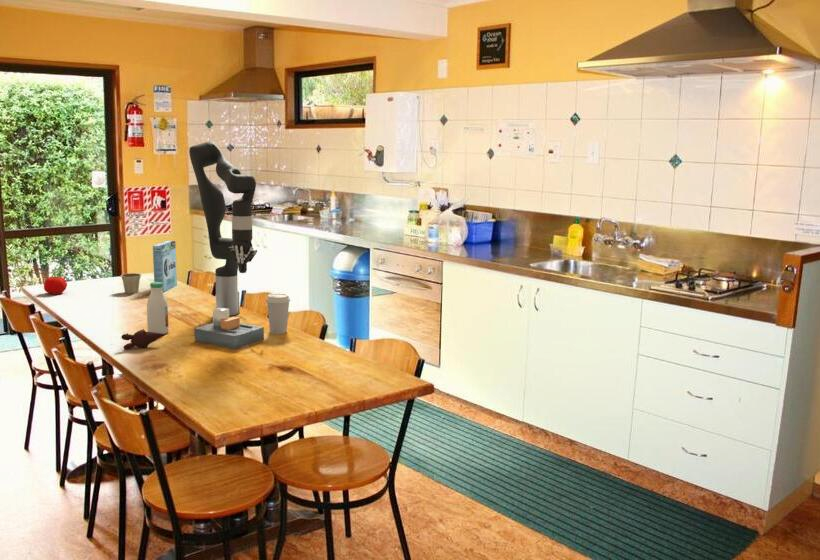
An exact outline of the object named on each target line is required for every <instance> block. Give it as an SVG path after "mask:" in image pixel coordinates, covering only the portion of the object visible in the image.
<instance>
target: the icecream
mask: <svg viewBox="0 0 820 560" xmlns="http://www.w3.org/2000/svg"><path fill="white" fill-rule="evenodd" d="M165 336H166V334H161V333H153V332H148V331H146V330H145V329H144V328H143V329H139V330H137V331H136V332H134V333H133V334H129V333H123V334H122V335H121V336H120V338H121V339H122V340H123V341H130V342H129V343H126V344H125V345H123V350H125V351H126V350H128V349H129V350H131V349H134V348H135V347H137V348H139V349H142V348H143V349H145V348H148V347H149V345H150V344H152V343H154V342H155V341H157V340H159V339H161V338H163V337H165Z"/></svg>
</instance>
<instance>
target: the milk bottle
mask: <svg viewBox="0 0 820 560" xmlns="http://www.w3.org/2000/svg"><path fill="white" fill-rule="evenodd" d="M149 286H150V294H149V295H148V299H147V303H146V320H147V332H153V333H161V334H165V335H167V334H168V333H169V307H168V299H167V298H166V296H165V294H164V292H163V291H162V288H163V283H162V282H154V281H152V282H150V283H149Z"/></svg>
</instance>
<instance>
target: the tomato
mask: <svg viewBox="0 0 820 560" xmlns="http://www.w3.org/2000/svg"><path fill="white" fill-rule="evenodd" d="M67 286H68V282H67V280H66V279H65V278H64V277H63V276H48V278H46V279H45V281H44V282H43V290H44V291H45V293H47V294H50V295H59V294H62V293H63V292H65V291H66V289H67Z"/></svg>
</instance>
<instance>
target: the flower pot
mask: <svg viewBox="0 0 820 560" xmlns="http://www.w3.org/2000/svg"><path fill="white" fill-rule="evenodd" d="M141 276H142V274H141V273H136V272H135V273H134V272H131V273H123V274H121V275H120V277H121V280H122V284H123V290H124V294H128V295H129V294H138V293H139V289H140V280H141Z"/></svg>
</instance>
